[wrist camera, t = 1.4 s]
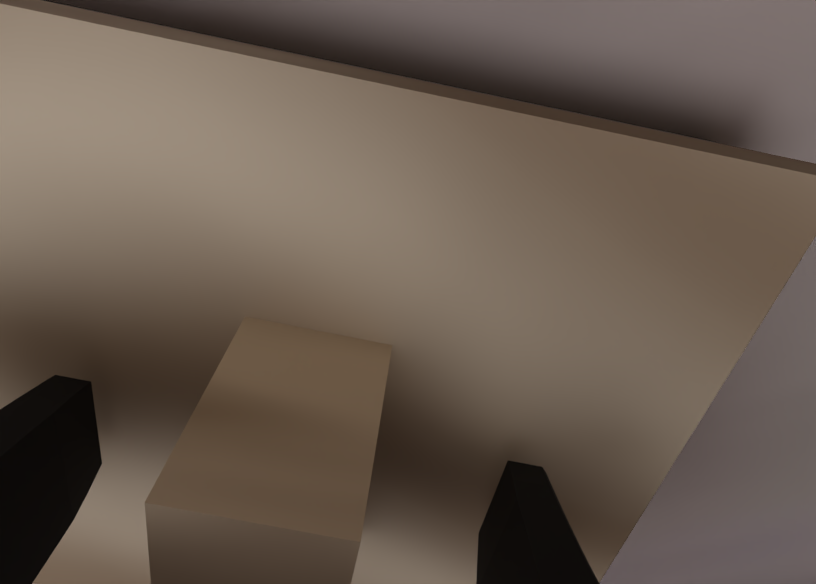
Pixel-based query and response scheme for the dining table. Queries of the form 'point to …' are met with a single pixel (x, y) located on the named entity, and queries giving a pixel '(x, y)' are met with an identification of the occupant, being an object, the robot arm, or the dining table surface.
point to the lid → (357, 300)
